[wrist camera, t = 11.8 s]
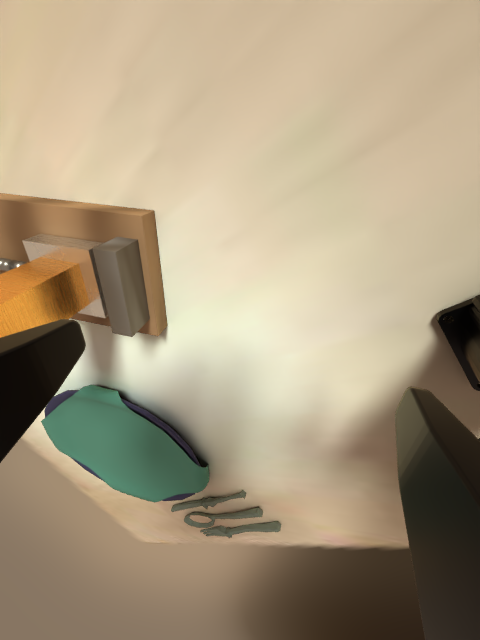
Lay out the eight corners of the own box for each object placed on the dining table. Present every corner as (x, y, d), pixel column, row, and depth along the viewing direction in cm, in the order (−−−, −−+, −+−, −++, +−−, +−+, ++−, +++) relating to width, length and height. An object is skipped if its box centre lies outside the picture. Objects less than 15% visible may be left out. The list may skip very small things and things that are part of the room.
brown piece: (154, 210, 19) (97, 236, 15) (167, 325, 24) (128, 371, 20) (-70, 185, 23) (-170, 199, 18) (-19, 289, 28) (-88, 320, 23)
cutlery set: (103, 349, 28) (86, 366, 26) (298, 518, 36) (296, 540, 34) (34, 412, 39) (19, 427, 37) (195, 531, 47) (189, 548, 45)
